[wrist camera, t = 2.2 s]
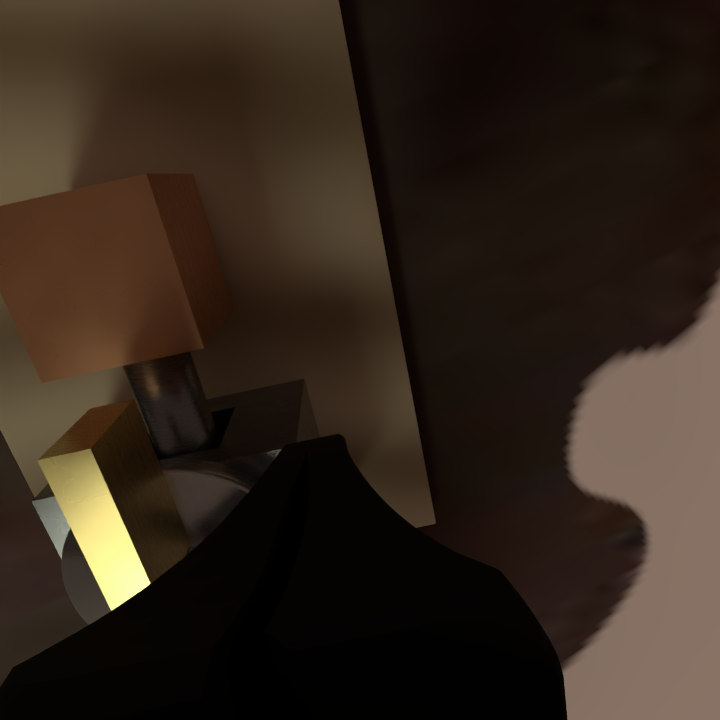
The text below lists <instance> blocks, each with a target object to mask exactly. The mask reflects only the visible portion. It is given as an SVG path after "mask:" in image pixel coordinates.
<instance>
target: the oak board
mask: <svg viewBox="0 0 720 720" xmlns="http://www.w3.org/2000/svg"><path fill="white" fill-rule="evenodd" d="M142 174H194V177H195V180H196V184H197V187H198V190H199V194H200V197H201V200H202V204H203V207H204V210H205V214H206V217H207V220H208V224H209V227H210V230H211V234H212V237H213V240H214V244H215V247H216V250H217V254H218V257H219V260H220V264H221V267H222V270H223V274H224V277H225V280H226V284H227V287H228V290H229V294H230V297H231V300H232V304H233V307H234V308H233V309H232V311H231V312H230V313H229V315H228V316H227V317H226V319H225V320H224V322H223V323H222V324H221V326H220V327H219V328H218V330H217V331H216V333H215V334H214V335H213V337H212V338H211V340H210V341H209V342H208V344H207V345H206V346H205V348H204V349H199V350H194V351H190V353H191V356H192V358H193V361H194V364H195V367H196V370H197V373H198V376H199V379H200V382H201V385H202V388H203V391H204V394H205V397H206V399H211V398H215V397H220V396H225V395H229V394H234V393H239V392H244V391H248V390H253V389H258V388H262V387H267V386H272V385H277V384H281V383H286V382H291V381H295V380H300V379H305V383H306V387H307V391H308V394H309V398H310V402H311V406H312V409H313V413H314V417H315V421H316V425H317V428H318V432H319V436H320V437H325V436H330V435H335V434H340V435H342V436H343V437H345V440H346V444H347V449H348V452H349V454H350V456H351V458H352V460H353V462H354V463H355V465H356V466H357V468H358V469H359V471H360V472H361V473H362V475H363V476H364V478H365V479H366V480H367V482H368V483H369V484H370V485H371V486H372V488H373V489H374V490H375V491H376V492H377V493H378V495H379V496H380V497H381V498H382V499H383V500H384V501H385V502H386V503H387V504H388V505H389V506H390V507H391V508H392V509H394V510H395V511H396V512H397V513H398V514H399V515H400V516H402V517H403V518H404V519H405V520H406V521H408V522H409V523H410V524H411V525H413V526H414V527H415V528H417V527H422V526H427V525H432V524H436V521H435V516H434V510H433V505H432V500H431V494H430V489H429V483H428V478H427V473H426V467H425V462H424V457H423V451H422V446H421V441H420V435H419V430H418V424H417V419H416V414H415V408H414V403H413V398H412V392H411V387H410V381H409V376H408V371H407V365H406V360H405V355H404V349H403V344H402V338H401V333H400V328H399V322H398V317H397V312H396V306H395V301H394V295H393V290H392V285H391V279H390V274H389V269H388V263H387V258H386V252H385V247H384V242H383V236H382V231H381V226H380V220H379V215H378V209H377V204H376V199H375V193H374V188H373V183H372V177H371V172H370V166H369V161H368V156H367V150H366V145H365V140H364V134H363V129H362V123H361V118H360V113H359V107H358V102H357V97H356V91H355V86H354V80H353V75H352V70H351V64H350V59H349V54H348V48H347V43H346V37H345V32H344V27H343V21H342V16H341V11H340V5H339V0H0V206H1V205H6V204H10V203H15V202H19V201H24V200H29V199H33V198H38V197H42V196H47V195H51V194H56V193H60V192H65V191H69V190H74V189H78V188H83V187H87V186H92V185H96V184H101V183H105V182H110V181H115V180H119V179H124V178H128V177H133V176H137V175H142ZM132 399H134V401H135V403H136V406H137V408H138V411H139V413H141V412H140V410H139V407H138V405H137V402H136V400H135V397H134V395H133V392H132V390H131V387H130V384H129V382H128V379H127V377H126V374H125V372H124V369H123V367H122V366H120V367H115V368H110V369H106V370H101V371H96V372H92V373H87V374H82V375H78V376H73V377H68V378H64V379H59V380H54V381H50V382H45V383H42V382H41V380H40V378H39V376H38V374H37V372H36V369H35V367H34V365H33V363H32V361H31V358H30V356H29V354H28V352H27V350H26V348H25V345H24V343H23V341H22V339H21V337H20V335H19V332H18V330H17V328H16V326H15V324H14V322H13V319H12V317H11V315H10V313H9V311H8V309H7V306H6V304H5V302H4V300H3V298H2V296H1V293H0V430H1V432H2V434H3V436H4V438H5V440H6V442H7V444H8V446H9V448H10V450H11V451H12V453H13V455H14V457H15V459H16V461H17V463H18V465H19V467H20V469H21V471H22V473H23V475H24V477H25V479H26V481H27V483H28V485H29V487H30V489H31V491H32V493H33V495H34V497H36V496H37V495H38V494H39V493H40V492H41V491H42V490H43V489H44V487H45V486H46V485H47V484H48V481H47V479H46V477H45V475H44V473H43V471H42V469H41V467H40V465H39V463H38V461H37V460H38V459H39V458H40V457H41V456H42V455H43V454H44V453H45V452H46V451H47V450H48V449H49V448H50V447H51V446H52V445H53V444H54V443H55V442H56V441H57V440H58V439H59V438H60V437H61V436H62V435H64V434H65V433H66V432H67V431H68V430H69V429H70V428H71V427H72V426H73V425H74V424H75V423H76V422H77V421H78V420H79V419H80V418H81V417H82V416H83V415H84V414H85V413H86V412H87V411H88V410H89V409H90V408H94V407H99V406H104V405H108V404H113V403H118V402H123V401H127V400H132Z"/></svg>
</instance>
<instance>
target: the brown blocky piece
mask: <svg viewBox="0 0 720 720" xmlns="http://www.w3.org/2000/svg"><path fill="white" fill-rule="evenodd" d="M0 293H1V296H2V298H3V300H4V302H5V304H6V306H7V309H8V311H9V313H10V315H11V317H12V319H13V322H14V324H15V326H16V328H17V330H18V332H19V335H20V337H21V339H22V341H23V343H24V345H25V348H26V350H27V352H28V354H29V356H30V358H31V361H32V363H33V365H34V367H35V369H36V372H37V374H38V376H39V378H40V380H41V382H42V383H45V382H50V381H54V380H59V379H64V378H68V377H73V376H78V375H82V374H87V373H92V372H96V371H101V370H106V369H110V368H115V367H120V366H122V367H123V369H124V372H125V374H126V377H127V379H128V382H129V384H130V387H131V390H132V392H133V395H134V397H135V400H136V402H137V405H138V407H139V410H140V412H141V415H142V417H143V420H144V422H145V425H146V427H147V430H148V433H149V435H150V438H151V440H152V443H153V445H154V448H155V450H156V453H157V455H158V458H159V460H163V459H168V458H172V457H177V456H182V455H187V454H191V453H196V452H201V451H206V450H210V449H215V448H219V446H220V443H221V440H220V437H219V435H218V432H217V429H216V426H215V423H214V420H213V417H212V414H211V411H210V408H209V405H208V402H207V399H206V397H205V394H204V391H203V388H202V385H201V382H200V379H199V376H198V373H197V370H196V367H195V364H194V361H193V358H192V356H191V353H190V351H194V350H199V349H204V348H205V346H206V345H207V344H208V342H209V341H210V340H211V338H212V337H213V335H214V334H215V333H216V331H217V330H218V328H219V327H220V326H221V324H222V323H223V322H224V320H225V319H226V317H227V316H228V315H229V313H230V312H231V311H232V309H233V308H234V307H233V304H232V300H231V297H230V294H229V290H228V287H227V284H226V280H225V277H224V274H223V270H222V267H221V264H220V260H219V257H218V254H217V250H216V247H215V244H214V240H213V237H212V234H211V230H210V227H209V224H208V220H207V217H206V214H205V210H204V207H203V204H202V200H201V197H200V194H199V190H198V187H197V184H196V180H195V177H194V174H142V175H137V176H133V177H128V178H124V179H119V180H115V181H110V182H105V183H101V184H96V185H92V186H87V187H83V188H78V189H74V190H69V191H65V192H60V193H56V194H51V195H47V196H42V197H38V198H33V199H29V200H24V201H19V202H15V203H10V204H6V205H1V206H0Z"/></svg>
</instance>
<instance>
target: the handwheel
mask: <svg viewBox="0 0 720 720" xmlns="http://www.w3.org/2000/svg"><path fill="white" fill-rule="evenodd" d="M37 461H38V463H39V465H40V467H41V469H42V471H43V473H44V475H45V477H46V479H47V481H48V483H49V485H50V487H51V489H52V491H53V493H54V495H55V497H56V499H57V501H58V503H59V505H60V507H61V509H62V512H63V514H64V516H65V518H66V520H67V522H68V524H69V526H70V530H69V532H68V535H67V537H66V539H65V543H64V546H63V550H62V559H61V569H62V578H63V582H64V585H65V589H66V591H67V594H68V596H69V598H70V601H71V602H72V604H73V606H74V607H75V609H76V610H77V612H78V613H79V614H80V616H81V617H82V618H83V619H84V620H85V622H86V623H87V624H88V625H90V624H91V623H93V622H95V621H96V620H98V619H99V618H101V617H102V616H104V615H106V614H107V613H109V612H110V611H112V610H113V609H115V608H116V607H118V606H120V605H121V604H122V603H124V602H125V601H127V600H128V599H130V598H131V597H133V596H134V595H136V594H137V593H138V592H140V591H141V590H143V589H144V588H145V587H147V586H148V585H149V584H151V583H152V582H153V581H155V580H156V579H157V578H158V577H160V576H161V575H162V574H163V573H165V572H166V571H167V570H169V569H170V568H171V567H172V566H174V565H175V564H176V563H178V562H179V561H180V560H181V559H183V558H184V557H185V556H186V555H187V554H188V553H190V552H191V551H192V550H193V549H194V548H195V547H196V546H197V545H198V544H200V543H201V542H202V541H203V540H204V539H205V538H206V537H207V536H208V535H209V534H210V533H211V532H212V531H213V530H214V529H215V528H216V527H217V526H218V525H219V524H220V523H221V522H222V521H223V520H224V519H225V518H226V517H227V516H228V515H229V514H230V512H231V511H232V510H233V509H234V508H235V507H236V506H237V505H238V503H239V502H240V501H241V500H242V499H243V498H244V497H245V496H246V494H247V493H248V492H249V491H250V490H251V488H252V487H253V486H254V485H255V483H256V482H257V481H258V480H257V479H255V478H253V477H252V476H250V475H248V474H247V473H244V472H242V471H240V470H238V469H235V468H233V467H230V466H227V465H224V464H220V463H217V462H212V461H206V460H201V459H188V458H181V459H166V460H159V461H158V459H157V456H156V454H155V451H154V449H153V446H152V443H151V441H150V438H149V436H148V433H147V431H146V428H145V426H144V423H143V421H142V418H141V416H140V413H139V411H138V408H137V406H136V403H135V401H134V399H132V400H127V401H123V402H118V403H113V404H108V405H104V406H99V407H94V408H90V409H89V410H88V411H87V412H86V413H85V414H84V415H83V416H82V417H81V418H80V419H79V420H78V421H77V422H76V423H75V424H74V425H73V426H72V427H71V428H70V429H69V430H68V431H67V432H66V433H65V434H64V435H62V436H61V437H60V438H59V439H58V440H57V441H56V442H55V443H54V444H53V445H52V446H51V447H50V448H49V449H48V450H47V451H46V452H45V453H44V454H43V455H42V456H41V457H40V458H39V459H38V460H37Z"/></svg>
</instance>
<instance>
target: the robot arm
mask: <svg viewBox="0 0 720 720" xmlns="http://www.w3.org/2000/svg"><path fill="white" fill-rule="evenodd" d="M0 720H567V711H566V700H565V689H564V677H563V673H562V669H561V665H560V662H559V659H558V656H557V653H556V651H555V649H554V647H553V645H552V643H551V641H550V640H549V638H548V636H547V635H546V633H545V631H544V630H543V628H542V626H541V625H540V623H539V622H538V620H537V619H536V617H535V616H534V614H533V613H532V611H531V610H530V608H529V607H528V606H527V604H526V603H525V601H524V600H523V599H522V597H521V596H520V595H519V593H518V592H517V591H516V590H515V588H514V587H513V586H512V584H511V583H510V582H509V581H508V579H507V578H506V577H505V576H504V575H503V573H502V572H501V571H499V570H498V569H496V568H493V567H491V566H488V565H486V564H483V563H481V562H479V561H476V560H474V559H471V558H469V557H466V556H464V555H461V554H459V553H457V552H455V551H453V550H451V549H449V548H447V547H445V546H443V545H441V544H440V543H438V542H437V541H435V540H434V539H432V538H431V537H429V536H427V535H426V534H424V533H423V532H421V531H420V530H418V529H417V528H415V527H414V526H413V525H411V524H410V523H409V522H408V521H406V520H405V519H404V518H403V517H402V516H400V515H399V514H398V513H397V512H396V511H395V510H394V509H392V508H391V507H390V506H389V505H388V504H387V503H386V502H385V501H384V500H383V499H382V498H381V497H380V496H379V495H378V493H377V492H376V491H375V490H374V489H373V488H372V486H371V485H370V484H369V483H368V482H367V480H366V479H365V478H364V476H363V475H362V473H361V472H360V471H359V469H358V468H357V466H356V465H355V463H354V462H353V460H352V458H351V456H350V454H349V452H348V449H347V444H346V440H345V437H343V436H342V435H340V434H335V435H330V436H325V437H320V438H315V439H311V440H306V441H301V442H296V443H291V444H287V445H285V446H284V447H283V449H282V450H281V451H280V452H279V454H278V455H277V456H276V458H275V459H274V460H273V462H272V463H271V464H270V466H269V467H268V468H267V469H266V471H265V472H264V473H263V475H262V476H261V477H260V478H259V480H258V481H257V482H256V483H255V485H254V486H253V487H252V488H251V490H250V491H249V492H248V493H247V494H246V496H245V497H244V498H243V499H242V500H241V501H240V502H239V503H238V505H237V506H236V507H235V508H234V509H233V510H232V511H231V512H230V514H229V515H228V516H227V517H226V518H225V519H224V520H223V521H222V522H221V523H220V524H219V525H218V526H217V527H216V528H215V529H214V530H213V531H212V532H211V533H210V534H209V535H208V536H207V537H206V538H205V539H204V540H203V541H202V542H201V543H200V544H198V545H197V546H196V547H195V548H194V549H193V550H192V551H191V552H190V553H188V554H187V555H186V556H185V557H184V558H183V559H181V560H180V561H179V562H178V563H176V564H175V565H174V566H172V567H171V568H170V569H169V570H167V571H166V572H165V573H163V574H162V575H161V576H160V577H158V578H157V579H156V580H155V581H153V582H152V583H151V584H149V585H148V586H147V587H145V588H144V589H143V590H141V591H140V592H138V593H137V594H136V595H134V596H133V597H131V598H130V599H128V600H127V601H125V602H124V603H122V604H121V605H120V606H118V607H116V608H115V609H113V610H112V611H110V612H109V613H107V614H106V615H104V616H102V617H101V618H99V619H98V620H96V621H95V622H93V623H91V624H90V625H88V626H86V627H85V628H83V629H82V630H80V631H78V632H76V633H75V634H73V635H71V636H69V637H67V638H66V639H64V640H62V641H60V642H59V643H57V644H55V645H53V646H51V647H50V648H48V649H46V650H44V651H43V652H41V653H39V654H37V655H35V656H34V657H32V658H30V659H28V660H26V661H24V662H23V663H21V664H19V665H17V666H15V667H13V669H12V670H11V672H10V673H9V675H8V676H7V678H6V679H5V681H4V682H3V684H2V685H1V687H0Z"/></svg>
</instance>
